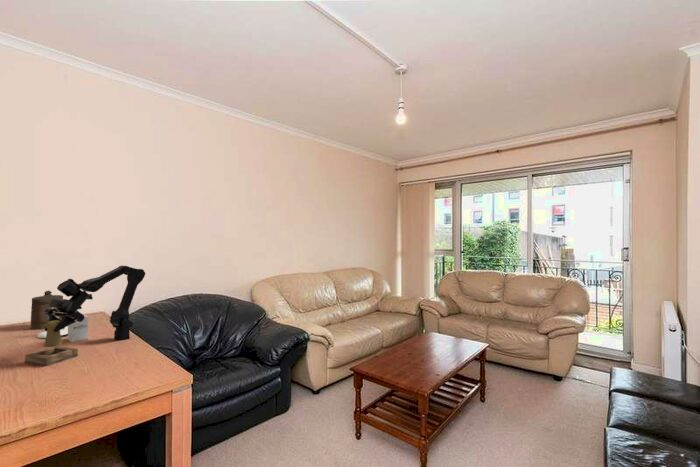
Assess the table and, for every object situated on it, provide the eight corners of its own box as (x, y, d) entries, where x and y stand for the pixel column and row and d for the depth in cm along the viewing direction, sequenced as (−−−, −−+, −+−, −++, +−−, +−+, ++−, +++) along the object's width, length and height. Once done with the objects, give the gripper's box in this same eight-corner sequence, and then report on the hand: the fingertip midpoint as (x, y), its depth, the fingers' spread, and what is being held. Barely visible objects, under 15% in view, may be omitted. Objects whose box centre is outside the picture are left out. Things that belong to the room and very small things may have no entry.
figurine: (87, 329, 199) (85, 302, 199) (53, 339, 181) (51, 309, 181) (63, 330, 204) (61, 303, 204) (27, 339, 186) (25, 310, 187)
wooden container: (59, 321, 219) (60, 288, 219) (65, 325, 209) (65, 290, 210) (28, 326, 207) (29, 290, 207) (32, 330, 198) (33, 293, 198)
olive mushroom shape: (46, 347, 149) (47, 323, 149) (42, 345, 152) (42, 321, 152) (64, 344, 154) (64, 320, 154) (59, 341, 158) (59, 318, 158)
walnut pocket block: (57, 353, 161) (57, 346, 161) (77, 356, 158) (77, 348, 158) (24, 363, 149) (25, 355, 149) (46, 366, 145) (46, 358, 145)
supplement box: (71, 342, 177) (71, 318, 178) (67, 339, 182) (67, 316, 182) (88, 339, 183) (88, 316, 183) (84, 336, 188) (84, 314, 188)
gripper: (48, 291, 160) (20, 320, 149) (78, 293, 155) (51, 323, 144) (65, 304, 167) (40, 333, 156) (94, 306, 163) (70, 336, 152)
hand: (50, 331), depth 152 cm, fingers closed on olive mushroom shape, 5 cm apart
